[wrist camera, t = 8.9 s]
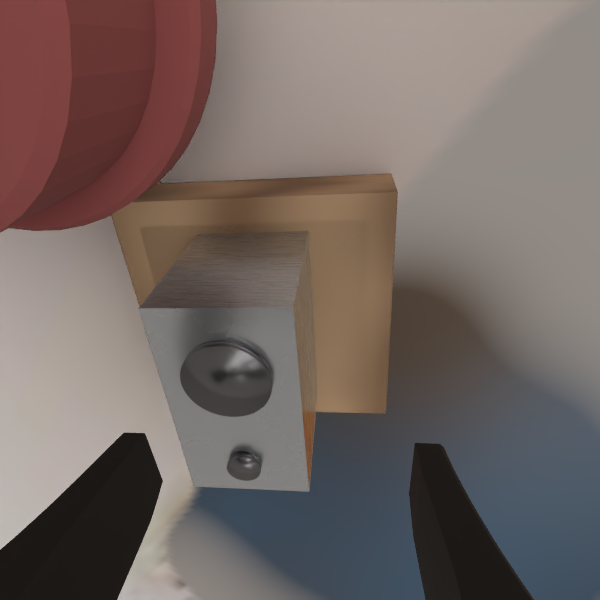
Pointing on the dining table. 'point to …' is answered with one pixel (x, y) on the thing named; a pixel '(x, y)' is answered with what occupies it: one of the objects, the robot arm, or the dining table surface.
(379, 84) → the dining table surface
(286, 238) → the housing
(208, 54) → the mechanical component
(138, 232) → the stand
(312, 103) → the dining table surface
